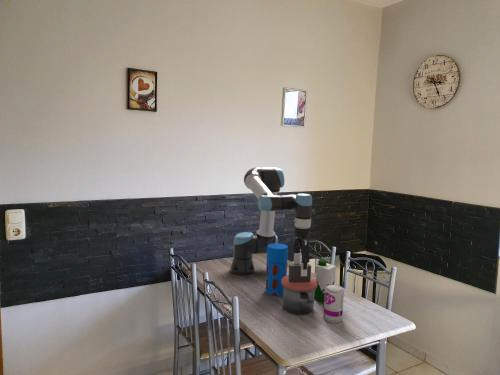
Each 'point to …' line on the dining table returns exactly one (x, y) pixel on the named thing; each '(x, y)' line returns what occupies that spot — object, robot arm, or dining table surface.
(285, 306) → the pot
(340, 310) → the supplement can
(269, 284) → the thermos
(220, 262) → the dining table surface
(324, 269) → the milk carton
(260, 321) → the dining table surface
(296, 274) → the lid
